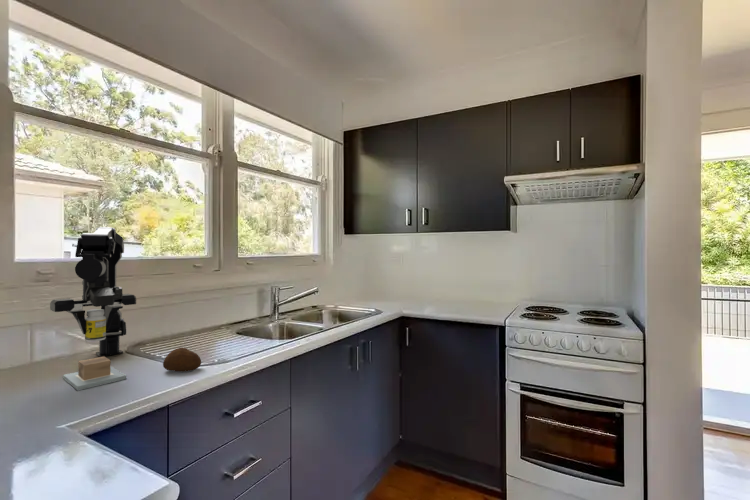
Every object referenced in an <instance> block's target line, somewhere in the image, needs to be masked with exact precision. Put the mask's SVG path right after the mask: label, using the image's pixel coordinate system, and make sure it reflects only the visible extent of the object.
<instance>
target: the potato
mask: <svg viewBox="0 0 750 500" xmlns="http://www.w3.org/2000/svg"><path fill="white" fill-rule="evenodd" d="M201 365H202V360H201V357H200V355H199V354H197V353H196V352H194V351H192V350H190V349H188V348H185V347H178V348H176V349H173V350H172V351H170V352H169V353H168V354H167V355H166V356H165V358H164V360H163V363H162V367H163V368H164V369H165V370H167V371H169V372H170V371H171V372H177V373H178V372H179V373H183V372H184V373H185V372H186V373H187V372H192V371H194V370H195V371H196V370H197V369H198V368H200V366H201Z"/></svg>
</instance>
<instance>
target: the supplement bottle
mask: <svg viewBox="0 0 750 500" xmlns="http://www.w3.org/2000/svg"><path fill="white" fill-rule="evenodd" d="M103 315H104V309H101V308H95V309H89V310H86V313H85V316H86V317H85V324H86V334H85V335H84V341H85V342H89V343H90V342H91V343H92V342H94V343H95V342H99V341H100V340H104V339H105V338H106V317H105V316H103Z"/></svg>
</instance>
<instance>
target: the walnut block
mask: <svg viewBox="0 0 750 500" xmlns="http://www.w3.org/2000/svg"><path fill="white" fill-rule="evenodd" d="M77 362H78V369H77V370H78V371H77V372H78V376H80V377H81V378H82V379H83V380H88V379H92V378H97V377H101V376H106V375H110V366H111V360H110V359H109V358H107V356H104V357H101V356H99V357H94V358H89V359H82V360H78V361H77Z"/></svg>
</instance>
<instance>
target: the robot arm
mask: <svg viewBox="0 0 750 500" xmlns="http://www.w3.org/2000/svg"><path fill="white" fill-rule="evenodd" d="M76 243H77V244H76V250H75V258H82V259H81V260H79V261H77V263H76V264H75V267H74V271H75V274H76V276H77V277H78V278H80V279H82V282H81V285H82V296H81V299H80V300H79V299H78V300H74V299H72V298H68V297H67V298H56V299H52V300H51V301H50V303H49V307H50V308H49V310H50V311H51V312H54V313H59V312H60V313H61V312H66V313H69V314H71V315H72V317H74V319H75V321H76V323H77V325H78V326H79V328H80V330H81V333H82V335H84V336H85V334H86V324H85V319H86V317H85V316H86V310H84V309H83V307H91V306H92V307H95V308H97V307H98V308H100V309H104V315H103V316H105V317H106V338H105V339H104V340H100V341H98V343H99V349H98V350H99V351H96V352H95V355H97V356H99V357H109V356H114V355H118V354H123V353H124V351H123V350H121V349H120V337H124V336H126V335H127V323H126V321H125V319H124V318H123V317H122V311H121V310H120V309H123V308H124V306H131V305H136V304H137V296H135V294H132V293H123V288H122V286H117V265H118V263H119V262H120V261H121V259H122V257H123V254H124V253H125V243H124V237H122V235H120V234H119V233H117V229H116V228H114V227H110V226H109V227H108V226H107V227H106V226H105V227H101V226H98V227H96V228H95V231H94V232H92V233H91V232H83V233H81V235H80V236H78V239H77V242H76Z"/></svg>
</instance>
